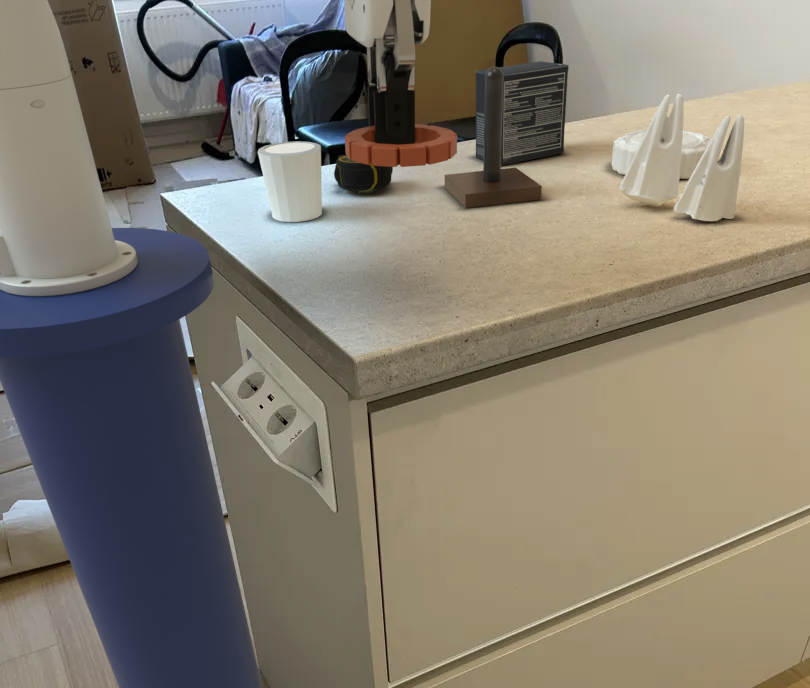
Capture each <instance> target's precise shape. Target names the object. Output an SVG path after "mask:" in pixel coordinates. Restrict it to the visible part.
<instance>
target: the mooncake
mask: <svg viewBox="0 0 810 688" xmlns="http://www.w3.org/2000/svg"><path fill="white" fill-rule="evenodd" d="M646 131H647V129H645V130H644V129H642V130H640V129H639V130H635V131H632V132H626V134H624V135H621V136H618V137H617V138H616V139H615V140H614V142H613V147H612V156H611V162H610V163H611V168H612V170H613V171H614V172H617V173H618V174H619V175H623V176H625V175H626V173H627V170H628V168H629V166H630V164H631V162H632V160H633V158H634V155H635V153H636V151H637V149H638V147H639V145H640V143H641V141H642V139H643V137H644V135H645V133H646ZM711 139H712V137H710V136H707V135H704V133H701V132H693V131H688V130H684V129H683V138H682V153H681V166H680V176H679V180H689V179H690V177H691V175H692V173H693V171H694V169H695V168H696V166H697V164H698V162H699V161H700V159H701V157H702V155H703V153H704V151H705V150H706V148H707V146H708V144H709V143H710V141H711Z"/></svg>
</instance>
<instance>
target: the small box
mask: <svg viewBox="0 0 810 688" xmlns="http://www.w3.org/2000/svg"><path fill="white" fill-rule="evenodd" d="M498 68H500V69H501V70H502V72H503V75H504V80H503V112H502V144H501V167H502V166H507V165H512V164H518V163H522V162H526V161H532V160H536V159H542V158H545V157H552V156H556V155H562V154H564V152H565V127H566V109H567V94H568V93H567V92H568V78H569V69H570V68H569V64H565V63H558V62H556V63H555V62H550V61H543V60H542V61H541V60H540V61H534V62H526V63H519V64H514V65H507V66H500V67H498ZM488 69H489V68H487V69H485V68H484V69H479V70H475V158H477V159H480V160H481V161H484V109H485V75H486V72H487V71H488Z"/></svg>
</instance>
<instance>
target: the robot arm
mask: <svg viewBox="0 0 810 688" xmlns="http://www.w3.org/2000/svg"><path fill="white" fill-rule="evenodd" d="M343 2H344V6H343V7H344V27H345V31H346V32H347V34H348V36H350V37H351V38H353V40H355V41H356V42H358V43H359V44H361V45H362V46H364V47H365V48H366V60H367V80H368V84H369V85H367V103H368V104H367V107H368V108H367V109H368V127H370V126H375V143H378V144H395V145H403V144H414V143H415V124H416V92H415V91H416V90H415V86H416V85H415V83H416V82H415V77H416V76H415V75H416V72H415V69H416V67H415V66H416V65H415V64H416V45H417V46H421V45H422V44H423V43H424V42H425V41H426V40H427V39H428V37H429V35H430V29H431V28H430V26H431V9H432V8H431V7H432V0H344V1H343ZM87 131H88V130H87V128H86V124H85V120H84V116H83V113H82V108H81V105H80V100H79V97H78V93H77V89H76V86H75V82H74V78H73V74H72V70H71V67H70V62H69V59H68V56H67V52H66V48H65V44H64V41H63V38H62V36H61V31H60V28H59V25H58V23H57V20H56V17H55V15H54V13H53V10H52V8H51V6H50V3H49V0H0V290H2V291H5V292H7V293H10V294H14V295H19V296H29V297H45V296H59V295H67V294H73V293H78V292H83V291H88V290H92V289H96V288H99V287H102V286H105V285H108V284H110V283H113V282H115V281H118V280H120V279H121V278H123V277H125V276H127V275H128V274H129V273H131V272H132V271H133V270H134V269H135V267H136V266H137V263H138V260H137V255H136V251H135V249H134V248H133V247H132V246H130V245H129V244H127V243H124V242H121V241H117V240H115V239H114V235H113V231H112V228H113V227H112V224H111V221H110V217H109V216H110V215H109V213H108V208H107V205H106V201H105V196H104V193H103V189H102V185H101V181H100V179H99V173H98V170H97V166H96V163H95V162H96V161H95V158H94V155H93V154H94V153H93V150H92V146H91V143H90V139H89V135H88V132H87Z"/></svg>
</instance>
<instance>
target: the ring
mask: <svg viewBox="0 0 810 688" xmlns="http://www.w3.org/2000/svg"><path fill="white" fill-rule="evenodd" d="M344 147H345V149H344V150H345V155H347V156H348V158H349V159H350V160H352V161H356V162H359V163H363V164H367V165H370V164H372V165H373V166H387V167H393V168H397V167H398V166H400V167H401V168H407V167H421V166H426V165H430V166H431V165H435V164H438V163H443V162H446V161H449V160H451V159H453V158H454V156H456V155H457V153H458V134H457V133H456V132H454V131H453V130H452V129H449V128H448V127H446V128H445V127H441V126H437V125H432V124H430V125H428V124H423V123H421V124H420V123H415V143H414V144H403V145H395V144H378V143H375V126H370V127H369V126H365V127H361V128H356V129H354V130H351V131H350V132H348V133H347V134H345V136H344Z"/></svg>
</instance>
